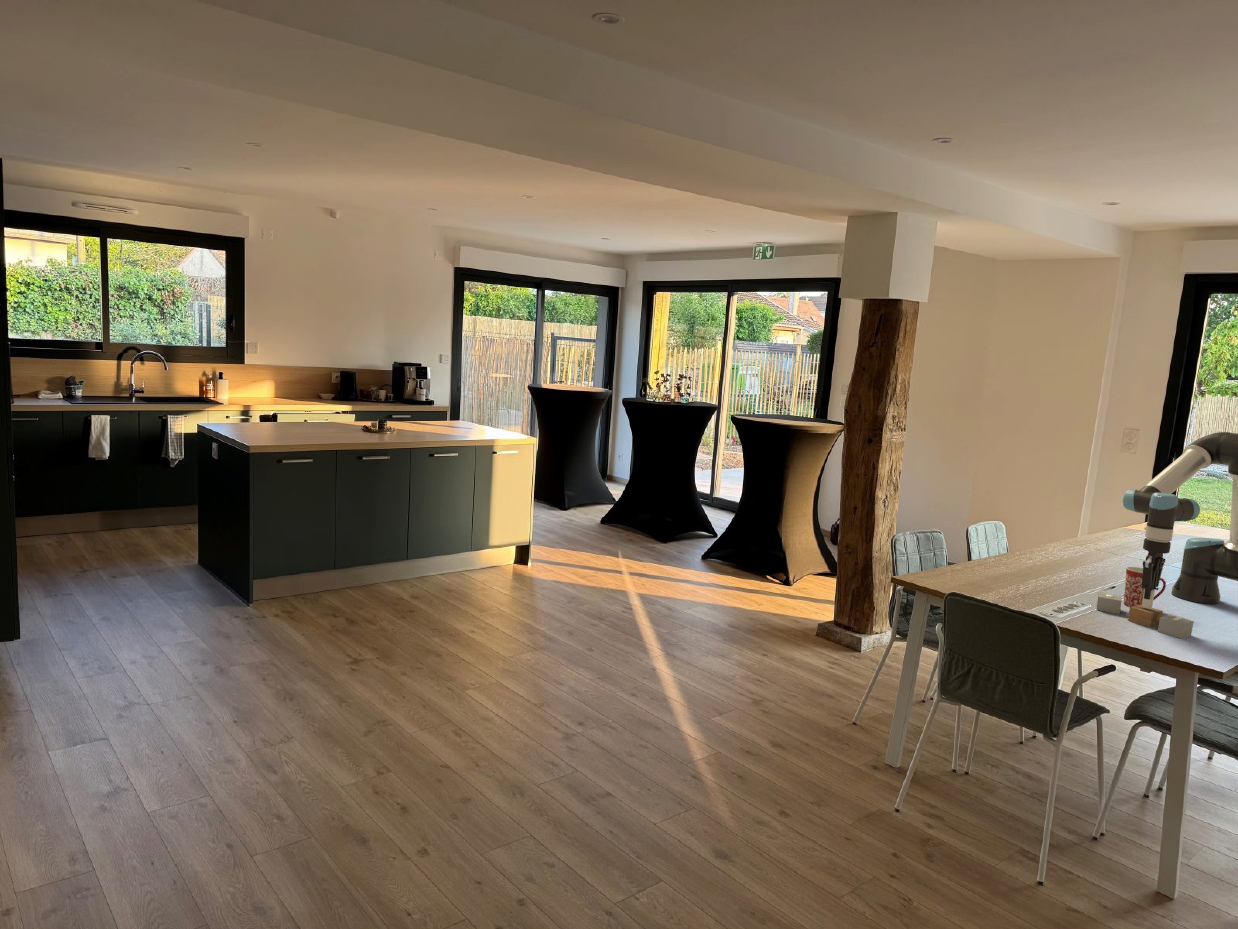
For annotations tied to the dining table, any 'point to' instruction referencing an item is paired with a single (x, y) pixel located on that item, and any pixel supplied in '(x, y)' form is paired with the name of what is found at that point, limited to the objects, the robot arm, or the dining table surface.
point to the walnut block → (1144, 616)
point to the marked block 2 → (1175, 626)
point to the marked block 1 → (1109, 603)
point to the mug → (1136, 587)
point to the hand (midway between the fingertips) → (1146, 607)
